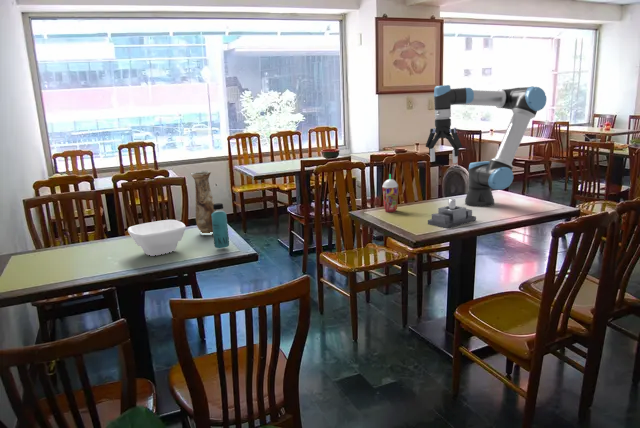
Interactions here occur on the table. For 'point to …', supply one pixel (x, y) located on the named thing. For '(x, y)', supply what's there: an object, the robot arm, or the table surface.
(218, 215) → the beverage bottle
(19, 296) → the table surface
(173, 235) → the bowl
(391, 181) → the smoothie
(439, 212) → the grey square socket block
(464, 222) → the shaft stand
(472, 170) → the robot arm
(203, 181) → the vase
